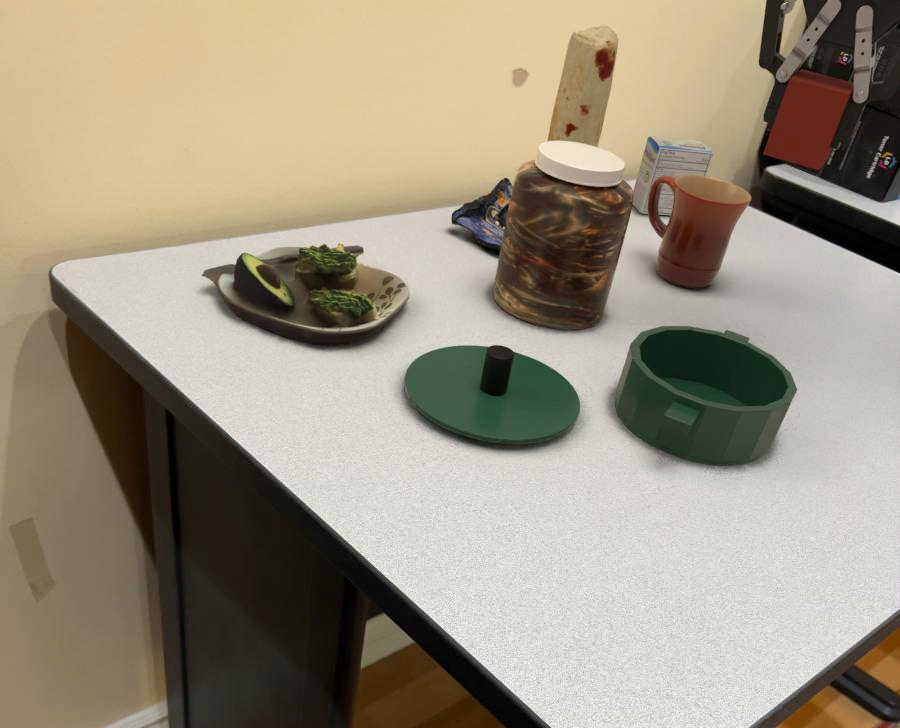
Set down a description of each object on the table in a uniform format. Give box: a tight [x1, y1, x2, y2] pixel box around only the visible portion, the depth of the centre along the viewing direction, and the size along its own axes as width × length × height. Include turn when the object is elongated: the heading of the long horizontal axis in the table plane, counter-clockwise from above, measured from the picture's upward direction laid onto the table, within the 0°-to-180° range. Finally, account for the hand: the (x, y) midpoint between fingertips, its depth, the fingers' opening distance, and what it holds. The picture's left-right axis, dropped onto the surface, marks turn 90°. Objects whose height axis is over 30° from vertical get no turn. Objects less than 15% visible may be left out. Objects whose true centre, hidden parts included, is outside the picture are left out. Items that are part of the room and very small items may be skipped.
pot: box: [614, 325, 798, 467], centre depth 79 cm, size 15×20×6 cm
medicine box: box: [632, 135, 714, 216], centre depth 119 cm, size 8×4×9 cm, turn 102°
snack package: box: [451, 177, 514, 252], centre depth 105 cm, size 12×6×12 cm
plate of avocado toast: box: [201, 243, 411, 346], centre depth 87 cm, size 19×18×5 cm
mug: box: [647, 174, 752, 289], centre depth 103 cm, size 12×9×10 cm
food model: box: [546, 25, 619, 147], centre depth 113 cm, size 10×7×20 cm
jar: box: [492, 140, 634, 330], centre depth 90 cm, size 12×12×15 cm
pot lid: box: [403, 344, 581, 445], centre depth 77 cm, size 16×16×5 cm
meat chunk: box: [762, 68, 853, 171], centre depth 77 cm, size 5×5×6 cm
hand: (802, 137), depth 78 cm, fingers closed on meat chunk, 5 cm apart
